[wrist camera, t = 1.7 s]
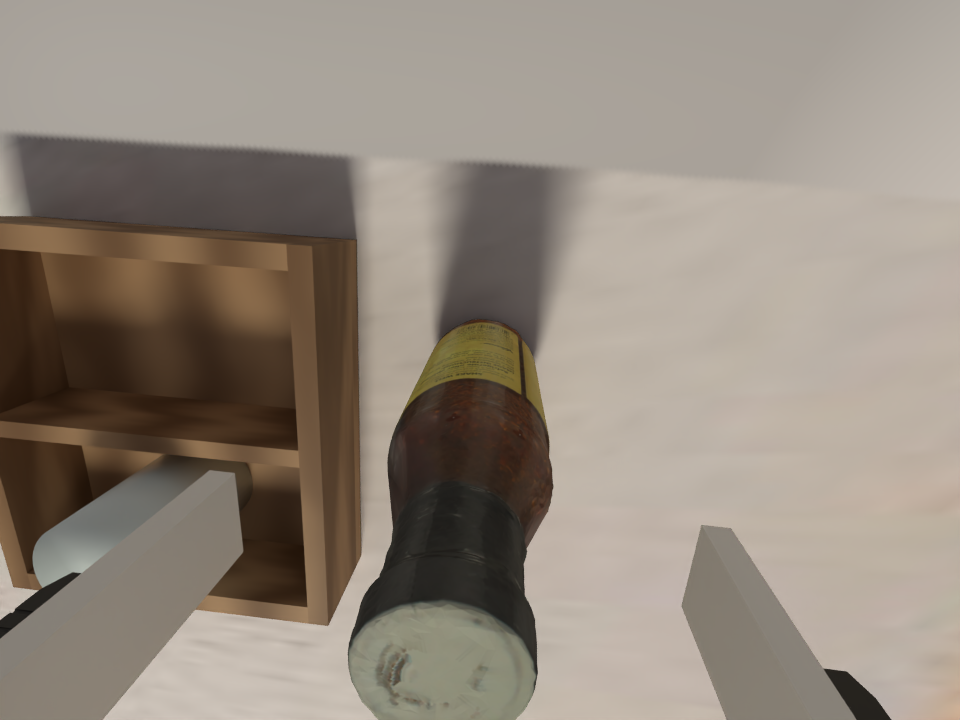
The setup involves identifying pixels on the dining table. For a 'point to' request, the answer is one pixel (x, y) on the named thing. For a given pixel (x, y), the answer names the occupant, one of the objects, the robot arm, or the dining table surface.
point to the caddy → (185, 390)
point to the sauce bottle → (459, 538)
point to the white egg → (125, 513)
